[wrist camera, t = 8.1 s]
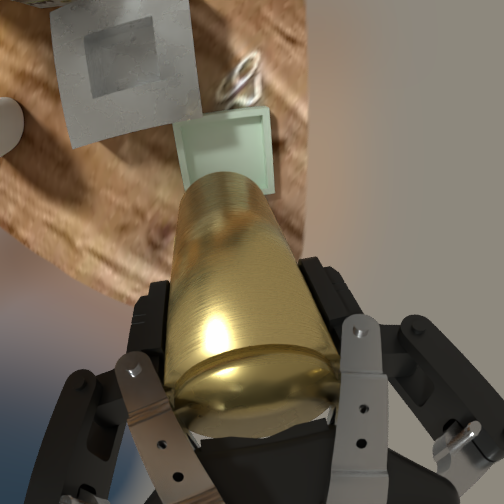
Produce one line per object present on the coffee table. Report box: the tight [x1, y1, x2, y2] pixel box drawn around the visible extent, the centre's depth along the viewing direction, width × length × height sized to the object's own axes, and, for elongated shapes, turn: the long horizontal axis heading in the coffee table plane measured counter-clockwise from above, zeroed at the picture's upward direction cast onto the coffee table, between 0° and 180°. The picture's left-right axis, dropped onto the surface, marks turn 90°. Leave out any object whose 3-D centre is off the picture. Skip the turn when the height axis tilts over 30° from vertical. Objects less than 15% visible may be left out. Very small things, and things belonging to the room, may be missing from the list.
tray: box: [172, 106, 275, 195], centre depth 35 cm, size 11×11×2 cm
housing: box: [50, 0, 203, 149], centre depth 24 cm, size 16×14×6 cm
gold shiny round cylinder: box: [164, 171, 340, 438], centre depth 13 cm, size 5×5×13 cm
